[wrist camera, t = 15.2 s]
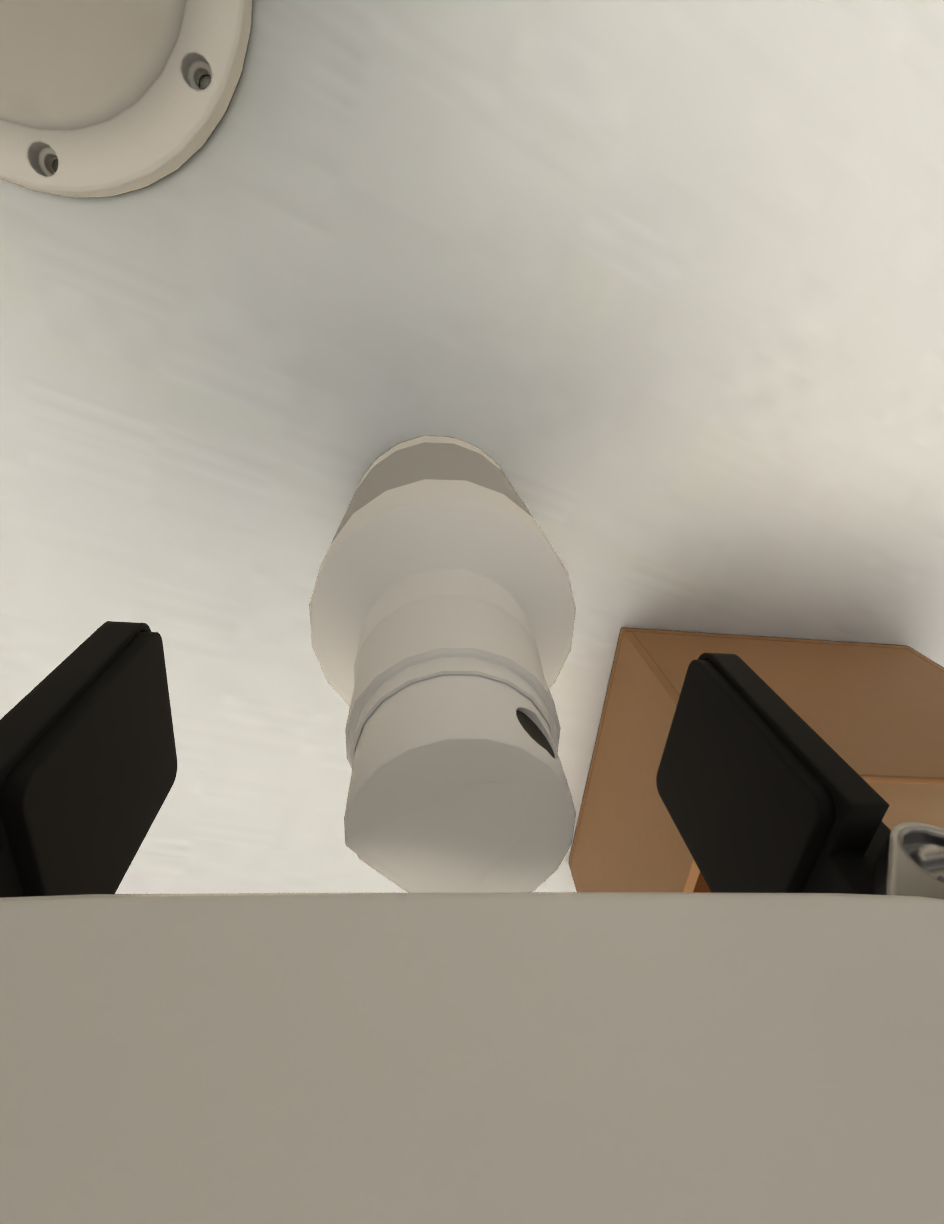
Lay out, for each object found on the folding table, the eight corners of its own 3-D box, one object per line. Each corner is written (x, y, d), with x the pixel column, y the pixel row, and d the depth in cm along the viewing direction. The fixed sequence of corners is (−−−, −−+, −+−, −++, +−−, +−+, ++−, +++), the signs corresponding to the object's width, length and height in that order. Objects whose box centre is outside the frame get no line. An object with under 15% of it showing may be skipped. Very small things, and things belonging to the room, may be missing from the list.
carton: (620, 627, 28) (723, 769, 18) (908, 645, 30) (1138, 785, 20) (568, 863, 34) (625, 1063, 24) (810, 867, 35) (953, 1056, 26)
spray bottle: (548, 520, 26) (776, 827, 9) (433, 621, 27) (451, 1041, 11) (438, 396, 23) (478, 507, 7) (319, 514, 25) (113, 842, 8)
